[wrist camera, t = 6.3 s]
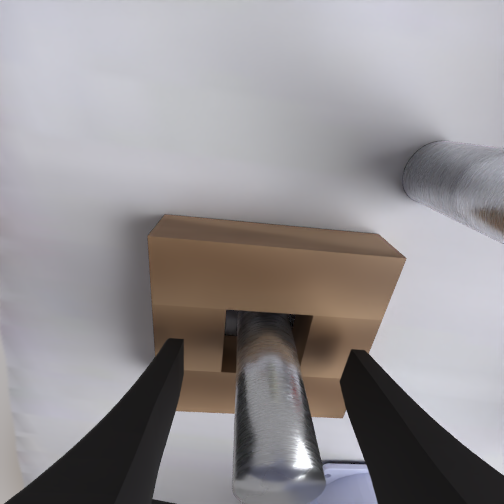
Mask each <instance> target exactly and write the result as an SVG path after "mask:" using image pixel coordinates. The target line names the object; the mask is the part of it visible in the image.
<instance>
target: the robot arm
mask: <svg viewBox="0 0 504 504" xmlns="http://www.w3.org/2000/svg"><path fill="white" fill-rule="evenodd" d="M183 376H184V339H177V338H168V339H167V340H166V341H165V343H164V345H163V346H162V348H161V349H160V351H159V352H158V354H157V355H156V356H155V358H154V359H153V361H152V362H151V363H150V365H149V366H148V367H147V369H146V370H145V371H144V372H143V374H142V375H141V376H140V377H139V379H138V380H137V381H136V382H135V384H134V385H133V386H132V387H131V388H130V390H129V391H128V392H127V393H126V394H125V395H124V396H123V398H122V399H121V400H120V401H119V402H118V403H117V404H116V405H115V406H114V408H113V409H112V410H111V411H110V412H109V413H108V414H107V415H106V416H105V417H104V418H103V419H102V420H101V421H100V422H99V423H98V424H97V425H96V426H95V427H94V428H93V429H92V430H91V431H90V432H89V433H88V434H87V435H86V436H85V437H83V438H82V439H81V440H80V441H79V442H78V443H77V444H76V445H75V446H74V447H73V448H72V449H70V450H69V451H68V452H67V453H66V454H65V455H64V456H63V457H61V458H60V459H59V460H58V461H57V462H55V463H54V464H53V465H52V466H51V467H49V468H48V469H47V470H46V471H45V472H44V473H42V474H41V475H40V476H39V477H38V478H36V479H35V480H34V481H33V482H32V483H30V484H29V485H28V486H27V487H25V488H24V489H23V490H22V491H20V492H19V493H17V494H16V495H15V496H14V497H12V498H11V499H10V500H8V501H7V502H6V503H4V504H151V502H152V498H153V493H154V488H155V483H156V479H157V474H158V470H159V466H160V462H161V458H162V455H163V452H164V448H165V445H166V442H167V438H168V435H169V431H170V428H171V425H172V421H173V418H174V415H175V411H176V408H177V404H178V401H179V397H180V392H181V387H182V381H183ZM340 386H341V391H342V395H343V399H344V403H345V407H346V410H347V413H348V416H349V418H350V421H351V424H352V427H353V430H354V432H355V435H356V438H357V440H358V443H359V446H360V449H361V451H362V454H363V457H364V460H365V462H366V464H333V463H327V464H324V465H323V466H322V467H323V471H324V475H325V480H326V486H325V489H324V491H323V492H322V493H321V495H320V496H318V497H317V498H316V499H314V500H313V501H311V502H309V503H307V504H504V475H502V474H501V473H499V472H498V471H497V470H495V469H494V468H493V467H491V466H490V465H489V464H487V463H486V462H485V461H483V460H482V459H481V458H479V457H478V456H477V455H476V454H474V453H473V452H472V451H470V450H469V449H468V448H467V447H465V446H464V445H463V444H462V443H460V442H459V441H458V440H457V439H456V438H455V437H453V436H452V435H451V434H450V433H449V432H447V431H446V430H445V429H444V428H443V427H442V426H440V425H439V424H438V423H437V422H436V421H435V420H434V419H433V418H432V417H430V416H429V415H428V414H427V413H426V412H425V411H424V410H423V409H422V408H421V407H420V406H419V405H418V404H417V403H416V402H415V401H414V400H413V399H412V398H411V397H410V396H409V395H408V394H407V393H406V392H405V391H404V390H403V389H402V388H401V387H400V386H399V385H398V384H397V383H396V382H395V381H394V380H393V379H392V378H391V377H390V376H389V375H388V374H387V373H386V372H385V371H384V370H383V369H382V368H381V366H380V365H379V364H378V363H377V362H376V361H375V360H374V359H373V358H372V357H371V356H370V355H369V354H368V353H367V352H366V351H365V350H357V349H351V351H350V354H349V356H348V359H347V362H346V365H345V368H344V370H343V373H342V376H341V379H340Z"/></svg>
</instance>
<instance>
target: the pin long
mask: <svg viewBox="0 0 504 504" xmlns="http://www.w3.org/2000/svg"><path fill="white" fill-rule="evenodd" d="M403 187H404V190H405V192H406V194H407V195H408V196H409V197H410V198H411V199H413V200H415V201H417V202H419V203H421V204H423V205H425V206H427V207H429V208H431V209H433V210H435V211H437V212H439V213H441V214H443V215H445V216H447V217H449V218H451V219H453V220H455V221H458V222H460V223H462V224H464V225H466V226H468V227H470V228H472V229H474V230H476V231H478V232H480V233H482V234H484V235H486V236H488V237H490V238H492V239H494V240H496V241H498V242H500V243H503V244H504V148H500V147H492V146H483V145H475V144H466V143H458V142H450V141H436V142H433V143H430V144H428V145H426V146H424V147H422V148H421V149H419V150H418V151H417V152H416V153H415V154H414V155H413V156H412V157H411V159H410V160H409V162H408V163H407V165H406V167H405V170H404V173H403Z"/></svg>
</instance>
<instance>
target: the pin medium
mask: <svg viewBox="0 0 504 504" xmlns="http://www.w3.org/2000/svg"><path fill="white" fill-rule="evenodd" d="M325 486H326V480H325V475H324V471H323V467H322V462H321V458H320V453H319V449H318V444H317V440H316V435H315V431H314V426H313V422H312V418H311V413H310V409H309V404H308V400H307V395H306V391H305V386H304V382H303V378H302V373H301V369H300V364H299V360H298V355H297V351H296V346H295V342H294V338H293V333H292V329H291V324H290V320H289V315H288V314H285V313H270V312H256V311H242V310H238V325H237V357H236V389H235V421H234V453H233V485H232V489H233V493H234V495H235V497H236V498H237V499H238V500H239V501H241V502H242V503H244V504H307V503H309V502H311V501H313V500H314V499H316V498H317V497H318V496H320V495H321V493H322V492H323V491H324V489H325Z"/></svg>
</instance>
